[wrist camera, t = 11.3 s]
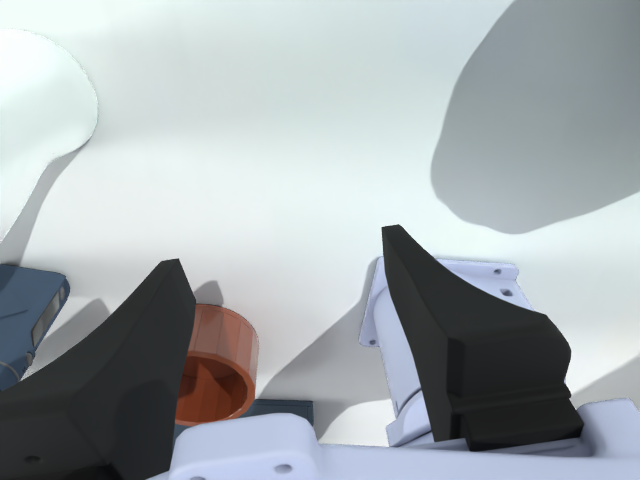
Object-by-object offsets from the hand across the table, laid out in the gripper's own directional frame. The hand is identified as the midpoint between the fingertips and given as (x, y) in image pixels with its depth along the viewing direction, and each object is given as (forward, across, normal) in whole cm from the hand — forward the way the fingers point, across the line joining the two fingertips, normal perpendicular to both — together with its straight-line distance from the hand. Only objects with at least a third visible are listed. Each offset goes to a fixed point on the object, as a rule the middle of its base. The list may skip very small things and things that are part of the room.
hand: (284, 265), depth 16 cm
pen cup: (+10, +8, +14) cm, 19 cm away
